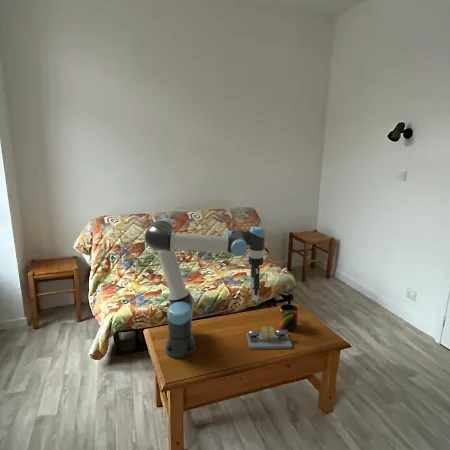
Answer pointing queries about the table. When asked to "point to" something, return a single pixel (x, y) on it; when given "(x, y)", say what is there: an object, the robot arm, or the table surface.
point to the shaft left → (253, 335)
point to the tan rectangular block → (267, 334)
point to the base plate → (269, 343)
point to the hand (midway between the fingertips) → (254, 294)
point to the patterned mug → (288, 317)
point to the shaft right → (281, 334)
